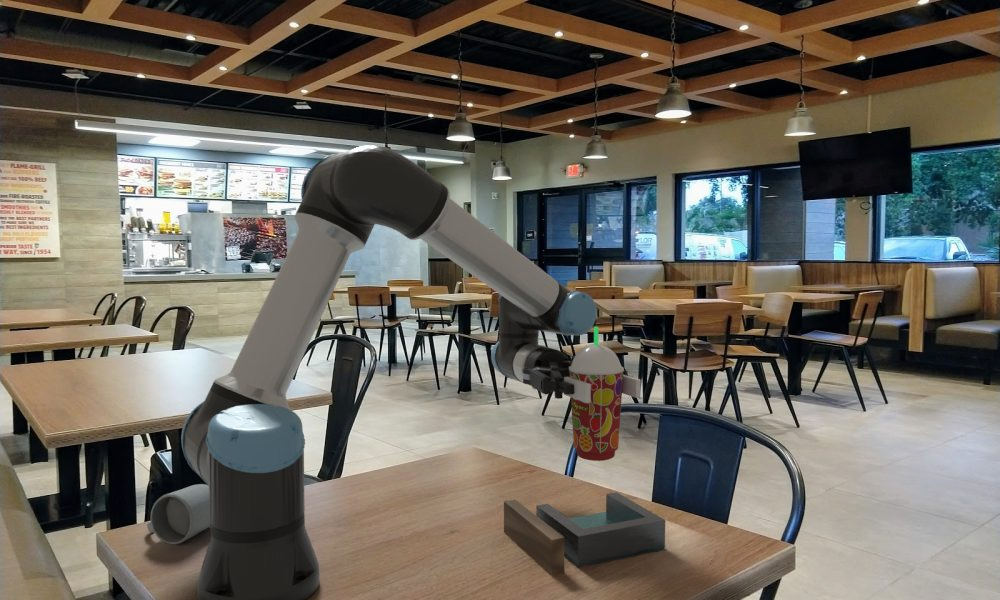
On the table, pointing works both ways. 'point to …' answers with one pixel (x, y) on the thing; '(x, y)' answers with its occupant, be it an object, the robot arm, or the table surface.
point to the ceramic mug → (181, 514)
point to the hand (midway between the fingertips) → (613, 391)
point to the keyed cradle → (607, 531)
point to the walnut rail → (534, 536)
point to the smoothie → (597, 402)
